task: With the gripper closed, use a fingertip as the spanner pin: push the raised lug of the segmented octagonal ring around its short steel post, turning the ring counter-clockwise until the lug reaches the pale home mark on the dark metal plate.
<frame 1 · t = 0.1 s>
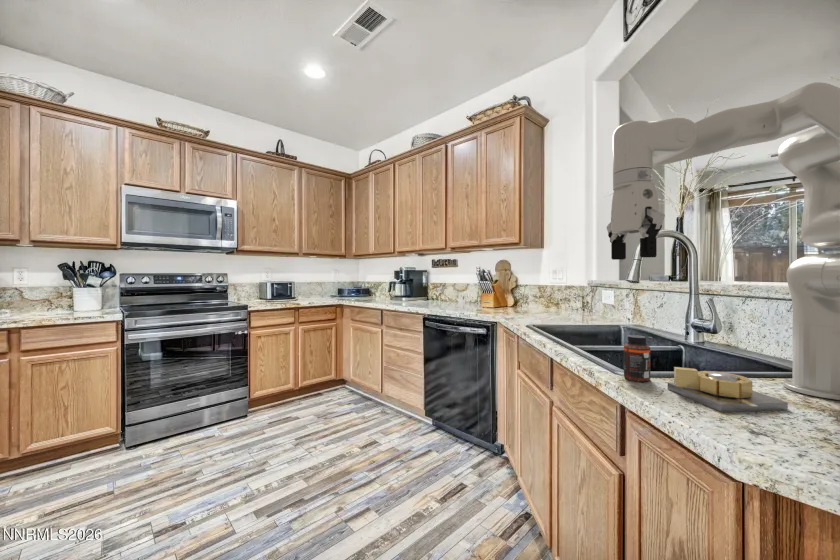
hand: (632, 258, 77), 31 cm above the table, tool pointing down, fingers open, 9 cm apart
supplement bottle: (636, 380, 91), on the table
segmented octagonal ring: (710, 380, 77), point 4 cm above the table, hinge at 0.0°
spindle plate: (722, 398, 76), on the table
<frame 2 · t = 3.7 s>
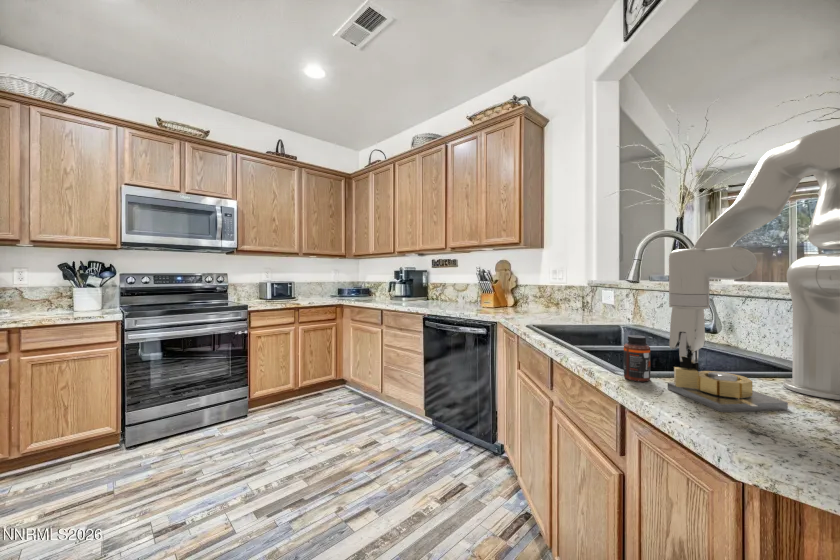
hand: (689, 378, 82), 3 cm above the table, tool pointing down, fingers closed
segmented octagonal ring: (710, 380, 77), point 4 cm above the table, hinge at 0.8°, touching gripper
everything else where it was.
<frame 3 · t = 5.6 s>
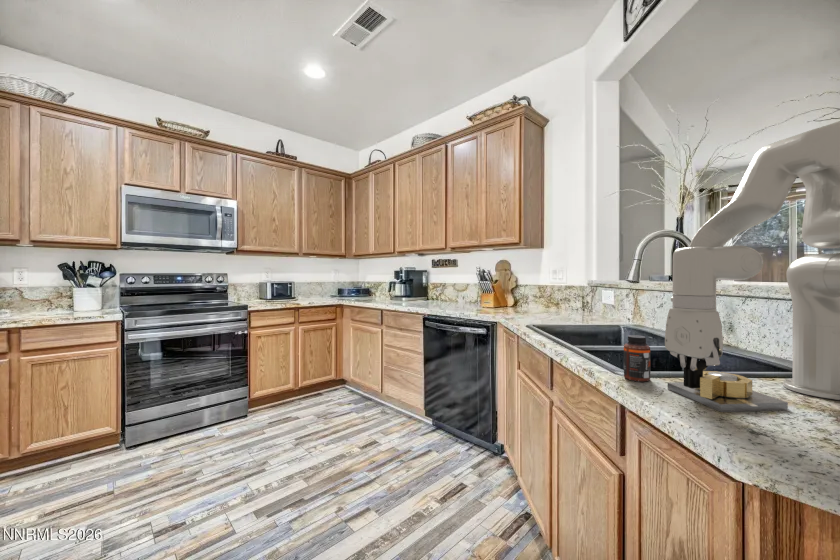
hand: (693, 386, 76), 3 cm above the table, tool pointing down, fingers closed
segmented octagonal ring: (718, 382, 75), point 4 cm above the table, hinge at 58.8°, touching gripper
everything else where it was.
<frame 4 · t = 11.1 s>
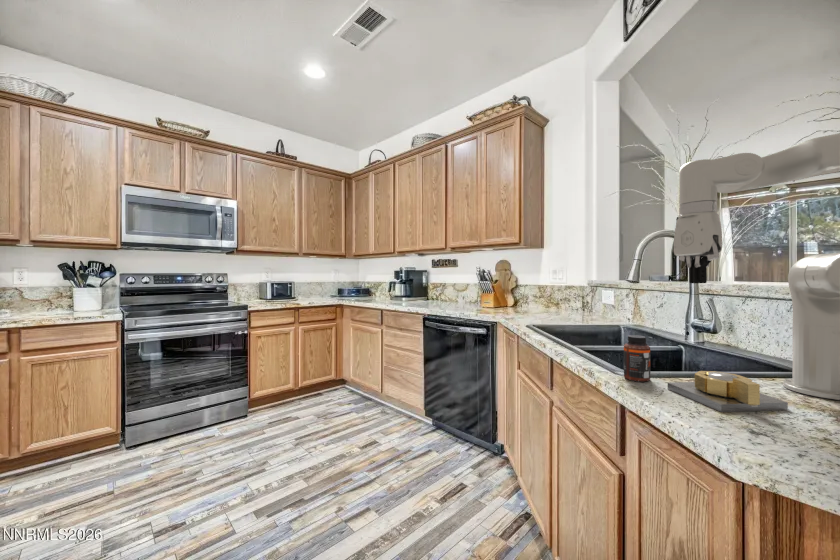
hand: (697, 283, 88), 25 cm above the table, tool pointing down, fingers closed
segmented octagonal ring: (729, 384, 74), point 4 cm above the table, hinge at 109.5°
everything else where it was.
at the end: segmented octagonal ring at +110° (first picture: +0°) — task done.
